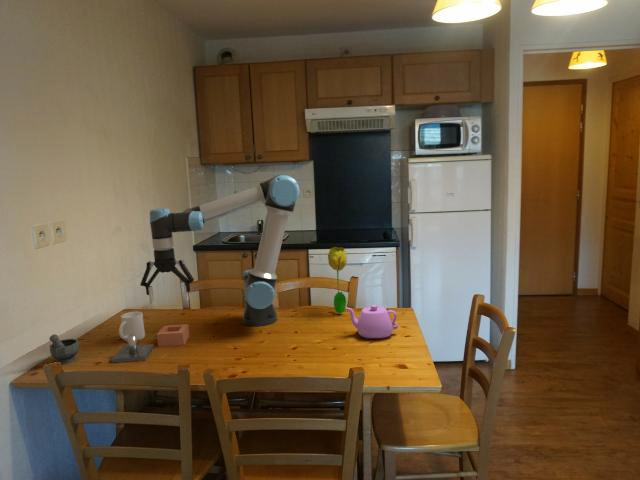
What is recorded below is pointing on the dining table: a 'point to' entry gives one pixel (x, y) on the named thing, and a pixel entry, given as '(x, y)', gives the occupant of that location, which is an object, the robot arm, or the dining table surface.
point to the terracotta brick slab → (173, 335)
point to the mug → (132, 325)
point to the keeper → (133, 351)
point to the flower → (337, 262)
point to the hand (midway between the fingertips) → (169, 301)
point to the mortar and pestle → (63, 349)
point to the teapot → (374, 322)
